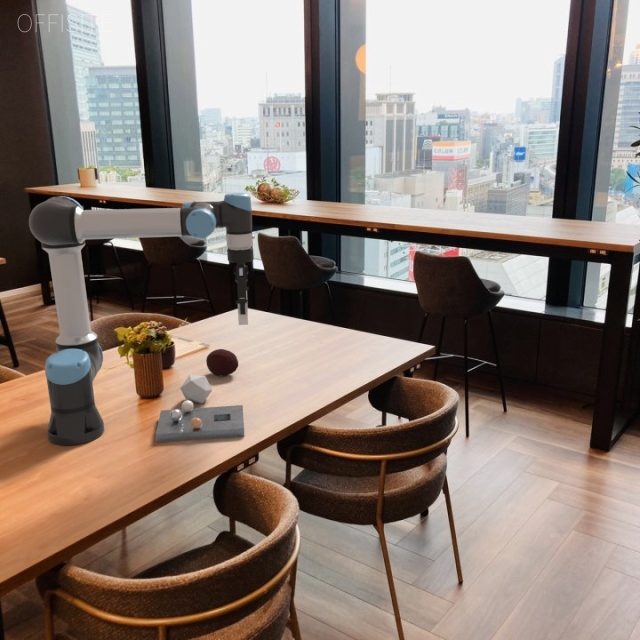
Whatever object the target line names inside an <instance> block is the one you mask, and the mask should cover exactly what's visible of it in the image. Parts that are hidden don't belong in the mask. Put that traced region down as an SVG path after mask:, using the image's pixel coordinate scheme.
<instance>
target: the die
mask: <svg viewBox="0 0 640 640" xmlns="http://www.w3.org/2000/svg"><path fill="white" fill-rule="evenodd" d="M179 389H180V391H181V393H182V395H183V397H184V398H185V401H186V400H189V401H191V402H192V403H193V404H204V403H205V401H206V400H207V398H208V397H209V396H210V395H211V393H212V392H213V389H212V386H211V385H210V383H209V381H208V378H207V377H206V375H196V374H189V375H188V377H187V378H186V379H185V381H184V382H183V383H182V384H181V386H180V388H179Z"/></svg>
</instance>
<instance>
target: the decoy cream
mask: <svg viewBox="0 0 640 640" xmlns="http://www.w3.org/2000/svg"><path fill="white" fill-rule="evenodd" d="M193 408H194V403H193V402H191V401H189V400H186V399H185V400H184V401H183V402H182V404H181V409H183V410H184V411H185V412H190V411H191V410H192V409H193Z"/></svg>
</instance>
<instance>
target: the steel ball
mask: <svg viewBox="0 0 640 640" xmlns="http://www.w3.org/2000/svg"><path fill="white" fill-rule="evenodd" d="M178 409H179V408H176V409H171V410H172V411H171V413H170V418H171V420H173V421H179V420H180V419H181V417H182V413H181V411H180V410H178Z"/></svg>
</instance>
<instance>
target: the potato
mask: <svg viewBox="0 0 640 640" xmlns="http://www.w3.org/2000/svg"><path fill="white" fill-rule="evenodd" d="M205 361H206V366H207V369H208V371H209V372H210V373H211V374H212V375H215V376H218V377H225V376H229V375H232V374H233V373H235V372H236V371H237V370H238V367H239V360H238V358H237V356H236V354H235V353H234V352H232V351H230V350H228V349H225V348H217V349H215V350H213V351H211V352H210V353H208V355H207V356H206V360H205Z"/></svg>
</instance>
